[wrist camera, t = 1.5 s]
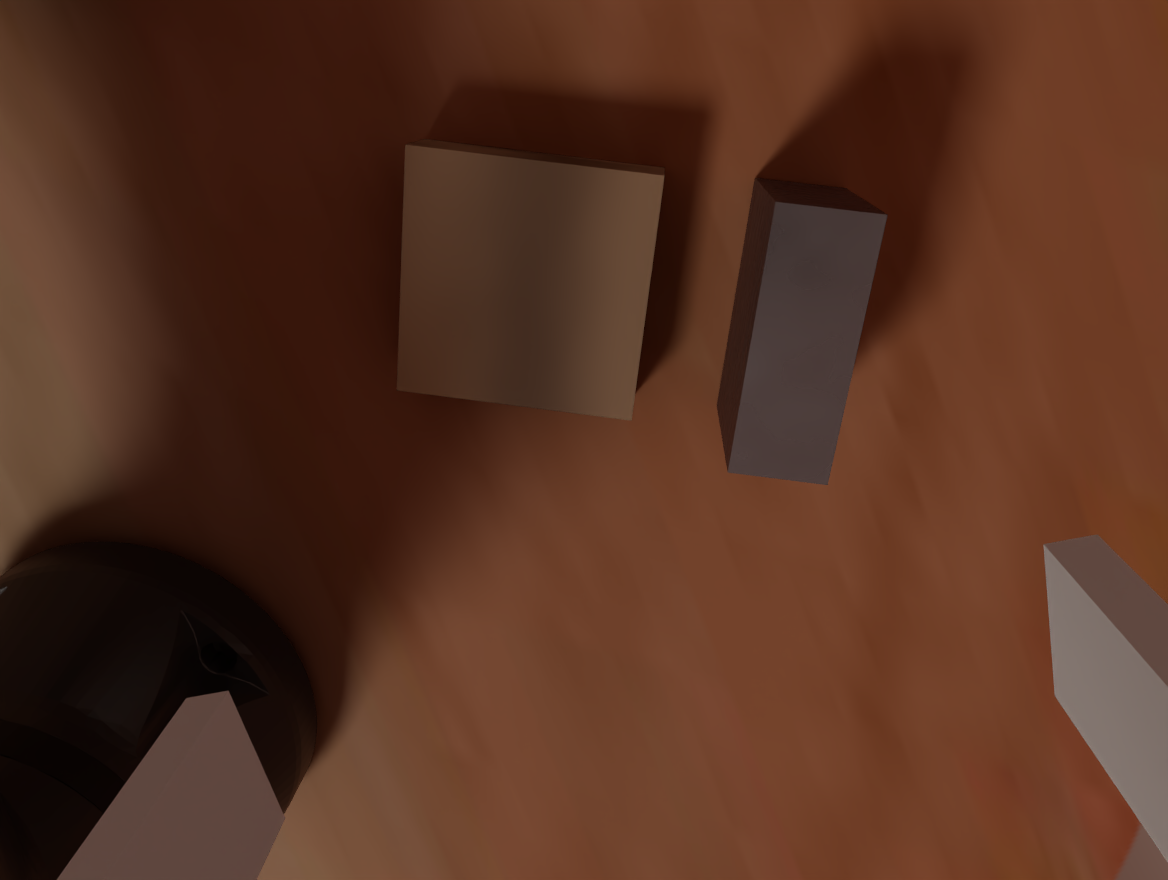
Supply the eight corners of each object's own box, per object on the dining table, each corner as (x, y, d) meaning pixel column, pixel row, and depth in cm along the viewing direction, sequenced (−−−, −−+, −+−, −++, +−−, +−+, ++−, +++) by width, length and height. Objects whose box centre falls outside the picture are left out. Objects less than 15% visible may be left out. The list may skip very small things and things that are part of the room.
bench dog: (716, 405, 34) (727, 472, 28) (754, 177, 31) (775, 201, 25) (799, 416, 34) (827, 485, 28) (846, 188, 31) (887, 214, 25)
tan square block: (417, 364, 34) (396, 390, 32) (427, 138, 32) (405, 144, 29) (634, 392, 34) (631, 420, 31) (664, 166, 31) (664, 175, 28)
